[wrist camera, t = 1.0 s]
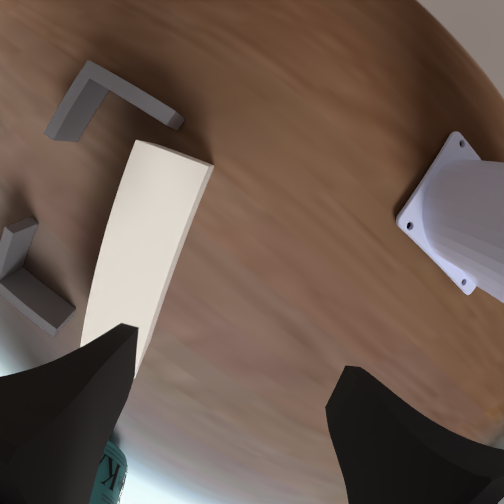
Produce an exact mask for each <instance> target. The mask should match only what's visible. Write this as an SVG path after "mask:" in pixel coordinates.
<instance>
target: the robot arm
mask: <svg viewBox="0 0 504 504" xmlns="http://www.w3.org/2000/svg"><path fill="white" fill-rule="evenodd" d="M460 141H461V144H462V145H461V147H460ZM409 222H410V227H409V228H408V229H407V223H409ZM396 224H397V225H398V227H399V228H400V229H401V230H403V231H404V232H405V233H406V234H407V235H408V236H409V237H410V238H411V239H412V240H413V241H414V242H415V243H416V244H417V245H418V246H419V247H420V248H421V249H422V250H423V251H424V252H425V253H426V254H427V255H428V256H429V257H430V258H431V259H432V260H433V261H434V262H435V263H436V264H437V265H438V266H439V267H440V268H441V269H442V270H443V271H444V272H445V273H446V274H447V275H448V276H449V277H450V278H451V279H452V281H453V282H454V283H455V284H456V285H457V286H458V287H459V288H460V289H461V290H462V291H463V292H464V293H465V294H467V295H469V294H471V293H472V291H473V290H474V289H475V287H476V286H478V287H479V288H481V289H482V290H484V291H486V292H487V293H489V294H490V295H492V296H493V297H495V298H497V299H498V300H500V301H501V302H503V303H504V163H502V162H492V161H482V160H481V159H480V158H479V156H478V155H477V154H476V152H475V151H474V150H473V148H472V147H471V146H470V145H469V143H468V142H467V141H466V140H465V138H464V137H463V136H462V135H461V133H459V132H457V131H455V132H452V133H451V134H450V136H449V137H448V139H447V141H446V142H445V144H444V146H443V147H442V149H441V150H440V152H439V154H438V155H437V157H436V158H435V160H434V162H433V163H432V165H431V166H430V168H429V169H428V171H427V173H426V174H425V176H424V177H423V179H422V180H421V182H420V183H419V185H418V186H417V188H416V189H415V191H414V192H413V194H412V195H411V197H410V198H409V200H408V201H407V203H406V204H405V206H404V207H403V208H402V210H401V211H400V213H399V214H398V216H397V218H396ZM463 279H464V280H463ZM462 280H463V282H462ZM138 330H139V327H135V326H131V325H128V324H124V323H120V324H119V325H117V326H115V327H114V328H112V329H110V330H109V331H107V332H106V333H104V334H102V335H101V336H99V337H98V338H96V339H94V340H93V341H91V342H89V343H88V344H86V345H84V346H83V347H81V348H79V349H77V350H75V351H73V352H71V353H69V354H67V355H65V356H63V357H61V358H59V359H57V360H54V361H52V362H50V363H47V364H44V365H42V366H39V367H36V368H33V369H30V370H26V371H22V372H19V373H15V374H11V375H7V376H2V377H0V504H89V502H90V498H91V494H92V490H93V486H94V482H95V478H96V474H97V471H98V467H99V464H100V461H101V457H102V454H103V452H104V449H105V447H106V444H107V442H108V440H109V438H110V435H111V433H112V431H113V429H114V427H115V424H116V422H117V420H118V418H119V416H120V414H121V411H122V409H123V407H124V405H125V403H126V400H127V398H128V395H129V392H130V389H131V385H132V382H133V379H134V376H135V364H136V351H137V340H138ZM325 408H326V416H327V423H328V428H329V432H330V436H331V439H332V442H333V446H334V449H335V452H336V455H337V458H338V461H339V464H340V468H341V471H342V474H343V477H344V481H345V485H346V490H347V495H348V502H349V504H498V502H499V501H500V500H501V499H502V498H503V497H504V450H502V449H497V448H493V447H490V446H486V445H483V444H480V443H477V442H475V441H472V440H469V439H467V438H465V437H462V436H460V435H458V434H456V433H454V432H451V431H450V430H448V429H446V428H444V427H442V426H440V425H439V424H437V423H435V422H434V421H432V420H430V419H429V418H427V417H425V416H424V415H422V414H421V413H420V412H418V411H417V410H415V409H414V408H413V407H411V406H410V405H409V404H407V403H406V402H405V401H403V400H402V399H401V398H399V397H398V396H397V395H396V394H394V393H393V392H392V391H391V390H390V389H388V388H387V387H386V386H385V385H383V384H382V383H381V382H380V381H378V380H377V379H376V378H375V377H373V376H372V375H371V374H370V373H368V372H367V371H365V370H364V369H362V368H361V367H355V366H345V368H344V370H343V372H342V374H341V376H340V378H339V381H338V383H337V385H336V387H335V389H334V391H333V393H332V395H331V397H330V399H329V401H328V403H327V405H326V407H325Z"/></svg>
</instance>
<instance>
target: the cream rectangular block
mask: <svg viewBox="0 0 504 504" xmlns="http://www.w3.org/2000/svg"><path fill="white" fill-rule="evenodd" d="M213 168H214V165H212V164H209V163H207V162H204V161H201V160H199V159H196V158H194V157H191V156H188V155H186V154H183V153H180V152H178V151H175V150H172V149H170V148H167V147H164V146H161V145H159V144H155V143H150V142H145V141H140V140H136V141H135V144H134V146H133V149H132V151H131V154H130V157H129V160H128V162H127V165H126V168H125V171H124V174H123V176H122V179H121V182H120V185H119V188H118V191H117V194H116V198H115V201H114V204H113V207H112V210H111V214H110V217H109V220H108V224H107V227H106V231H105V234H104V238H103V242H102V245H101V249H100V253H99V257H98V261H97V265H96V269H95V273H94V278H93V282H92V287H91V291H90V296H89V301H88V306H87V311H86V316H85V321H84V327H83V333H82V339H81V345H80V348H81V347H83V346H84V345H86V344H88V343H89V342H91V341H93V340H94V339H96V338H98V337H99V336H101V335H102V334H104V333H106V332H107V331H109V330H110V329H112V328H114V327H115V326H117V325H119V324H120V323H124V324H128V325H131V326H135V327H139V330H138V340H137V351H136V364H135V376H134V379H135V377H136V374H137V372H138V369H139V367H140V364H141V362H142V359H143V357H144V355H145V352H146V350H147V347H148V345H149V342H150V340H151V337H152V334H153V331H154V327H155V324H156V321H157V318H158V315H159V312H160V309H161V306H162V303H163V300H164V297H165V294H166V292H167V289H168V286H169V283H170V280H171V277H172V274H173V272H174V269H175V266H176V263H177V260H178V258H179V255H180V252H181V249H182V247H183V244H184V241H185V239H186V236H187V233H188V231H189V228H190V226H191V223H192V220H193V218H194V215H195V213H196V210H197V207H198V205H199V202H200V200H201V197H202V195H203V192H204V190H205V187H206V185H207V182H208V180H209V178H210V175H211V173H212V170H213Z"/></svg>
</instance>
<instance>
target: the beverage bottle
mask: <svg viewBox="0 0 504 504" xmlns="http://www.w3.org/2000/svg"><path fill="white" fill-rule="evenodd" d="M127 467H128V466H127V462H126V457H125V455H124V454H123V452H122V451H121V450H120V449H119V448H118V447H117V446H116V445H114V444H113V443H112V442H110V441H109V440H108V442H107V444H106V447H105V449H104V452H103V454H102V457H101V461H100V464H99V467H98V471H97V474H96V478H95V482H94V486H93V490H92V494H91V498H90V502H89V504H117V502H118V500H119V499H120V498H121V497H120V498H119V494H120V491H121V489H122V486H124V484H123V480H124V483H125V478H126V476H127V475H125V473H126V472H127V470H126V469H127ZM124 476H125V478H124ZM122 490H123V489H122ZM121 494H122V493H121ZM120 496H121V495H120ZM118 498H119V499H118ZM119 502H120V501H119Z"/></svg>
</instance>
